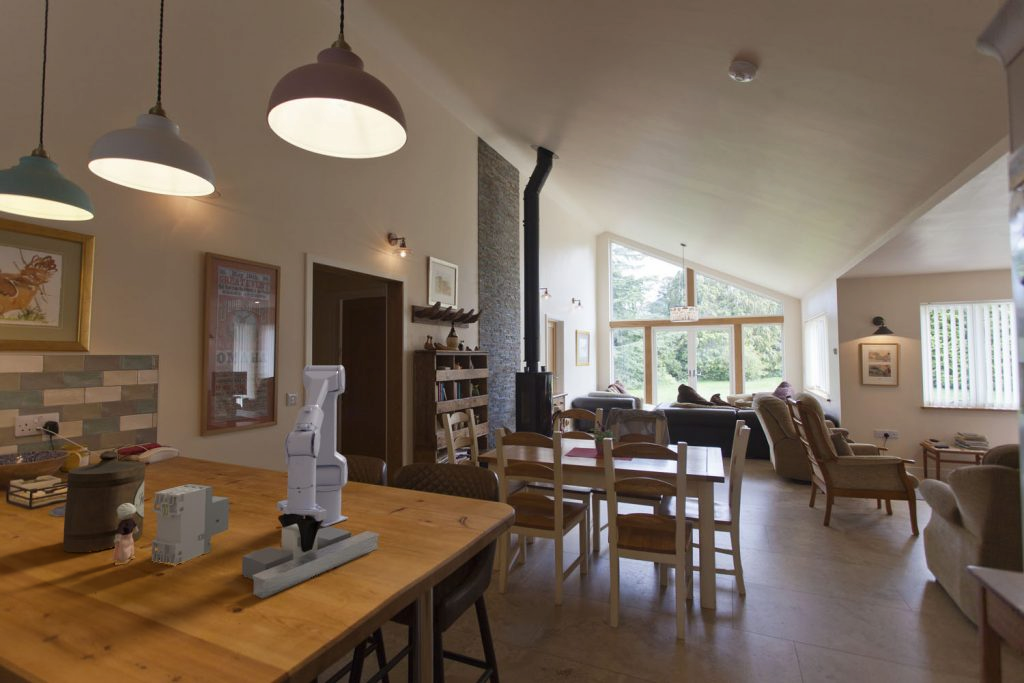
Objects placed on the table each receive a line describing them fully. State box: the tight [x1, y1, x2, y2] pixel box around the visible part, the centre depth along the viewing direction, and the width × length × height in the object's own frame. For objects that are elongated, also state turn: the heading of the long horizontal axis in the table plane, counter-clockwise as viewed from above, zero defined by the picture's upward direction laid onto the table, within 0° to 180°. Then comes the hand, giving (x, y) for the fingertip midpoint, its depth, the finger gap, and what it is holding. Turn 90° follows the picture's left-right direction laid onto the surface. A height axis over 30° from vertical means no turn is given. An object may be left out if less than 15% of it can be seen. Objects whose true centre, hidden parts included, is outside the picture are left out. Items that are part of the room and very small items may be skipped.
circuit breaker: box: [150, 483, 231, 565], centre depth 110 cm, size 8×14×15 cm, turn 161°
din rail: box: [252, 530, 380, 600], centre depth 100 cm, size 4×28×4 cm, turn 149°
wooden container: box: [62, 450, 146, 553], centre depth 117 cm, size 15×15×22 cm
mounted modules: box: [241, 525, 352, 581], centre depth 104 cm, size 8×21×4 cm, turn 149°
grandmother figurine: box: [112, 503, 138, 563], centre depth 104 cm, size 8×4×13 cm, turn 23°
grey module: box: [281, 524, 318, 559], centre depth 104 cm, size 4×6×7 cm
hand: (300, 548), depth 104 cm, fingers closed on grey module, 4 cm apart
